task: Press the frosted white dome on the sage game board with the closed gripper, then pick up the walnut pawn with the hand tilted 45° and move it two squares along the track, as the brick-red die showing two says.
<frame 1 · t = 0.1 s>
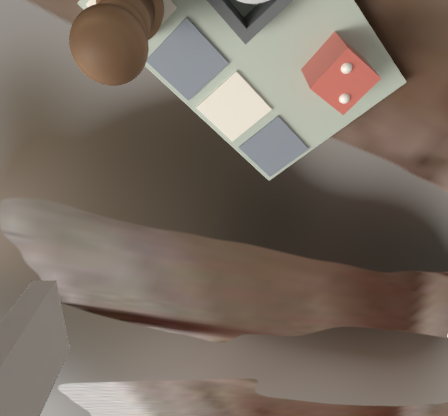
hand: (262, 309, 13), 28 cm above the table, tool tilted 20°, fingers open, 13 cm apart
pawn: (131, 6, 31), point 1 cm above the table, touching board
board: (253, 41, 34), on the table
die: (330, 59, 35), resting on board
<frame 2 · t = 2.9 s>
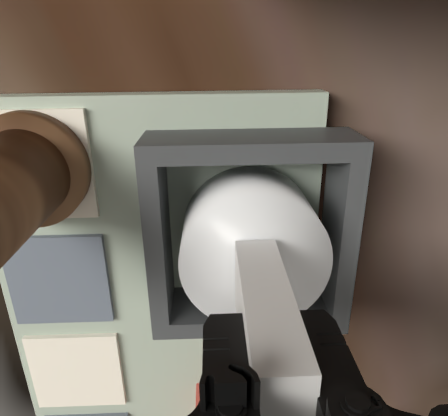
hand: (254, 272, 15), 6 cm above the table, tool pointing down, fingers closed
dome: (251, 245, 17), point 4 cm above the table, slide at -1.1 cm, touching gripper
pawn: (34, 167, 17), point 2 cm above the table, touching board
board: (164, 310, 22), on the table
die: (234, 386, 25), resting on board
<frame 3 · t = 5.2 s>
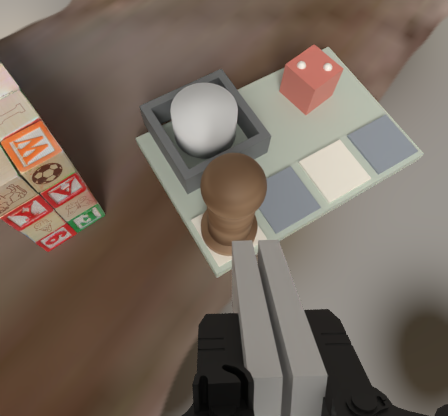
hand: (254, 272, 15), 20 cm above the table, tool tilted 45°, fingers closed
dome: (204, 121, 37), point 4 cm above the table, slide at -0.6 cm
pawn: (228, 229, 36), point 2 cm above the table, touching board
stack of blocks: (27, 154, 40), on the table
board: (278, 152, 40), on the table
die: (303, 100, 43), resting on board
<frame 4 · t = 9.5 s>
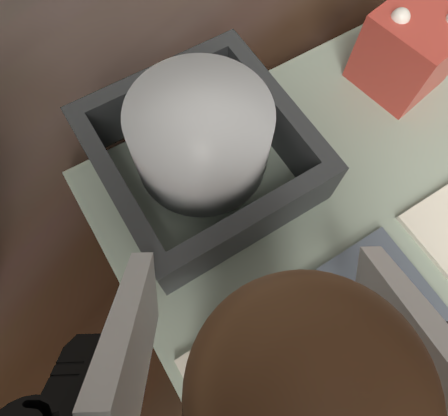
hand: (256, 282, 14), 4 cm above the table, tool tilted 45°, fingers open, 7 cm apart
dome: (200, 137, 17), point 4 cm above the table, slide at -0.6 cm
pawn: (259, 382, 16), point 2 cm above the table, touching board
board: (346, 193, 21), on the table
die: (384, 91, 23), resting on board
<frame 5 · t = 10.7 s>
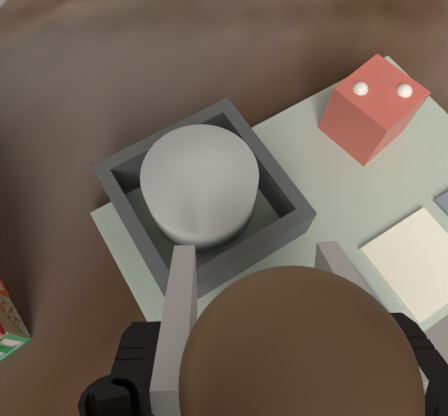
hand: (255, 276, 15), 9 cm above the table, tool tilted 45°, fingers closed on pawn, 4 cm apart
dome: (201, 189, 22), point 4 cm above the table, slide at -0.6 cm
pawn: (266, 377, 16), point 6 cm above the table, touching gripper
board: (321, 227, 25), on the table
die: (354, 139, 28), resting on board
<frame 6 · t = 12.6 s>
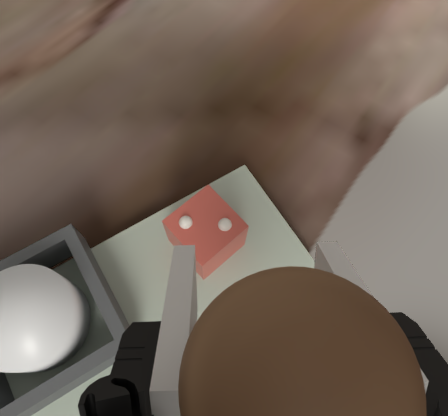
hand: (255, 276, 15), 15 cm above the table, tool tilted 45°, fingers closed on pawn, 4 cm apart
dome: (32, 319, 24), point 4 cm above the table, slide at -0.6 cm
pawn: (267, 378, 16), point 12 cm above the table, touching gripper
board: (162, 336, 28), on the table
die: (206, 246, 30), resting on board
when the fingers open (5 cm above the table, at t = 14.4 s): pawn stays where it is, resting on board.
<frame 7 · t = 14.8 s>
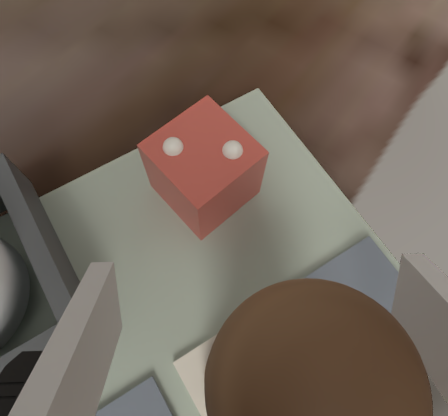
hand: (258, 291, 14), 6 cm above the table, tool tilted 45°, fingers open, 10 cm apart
pawn: (263, 379, 17), point 2 cm above the table, touching board
board: (141, 322, 19), on the table
die: (205, 198, 22), resting on board
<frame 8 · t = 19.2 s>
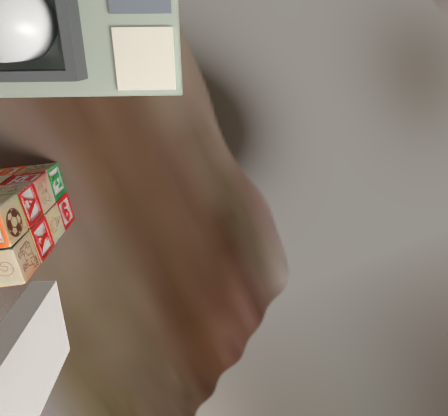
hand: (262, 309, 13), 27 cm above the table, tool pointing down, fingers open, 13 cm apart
dome: (7, 19, 29), point 4 cm above the table, slide at -0.6 cm
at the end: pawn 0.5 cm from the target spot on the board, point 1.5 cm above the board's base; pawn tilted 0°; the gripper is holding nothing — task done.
